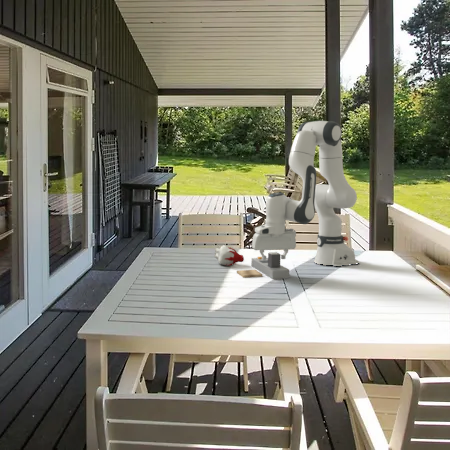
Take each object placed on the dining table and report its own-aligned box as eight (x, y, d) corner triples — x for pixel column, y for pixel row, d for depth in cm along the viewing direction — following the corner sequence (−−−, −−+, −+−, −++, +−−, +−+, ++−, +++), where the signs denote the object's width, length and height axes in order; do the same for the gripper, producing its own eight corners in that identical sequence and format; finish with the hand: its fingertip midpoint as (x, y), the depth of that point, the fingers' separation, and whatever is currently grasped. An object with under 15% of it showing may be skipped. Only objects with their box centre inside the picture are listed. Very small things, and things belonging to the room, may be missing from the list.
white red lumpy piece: (213, 260, 269) (243, 265, 268) (210, 265, 258) (241, 270, 257) (216, 243, 268) (246, 247, 267) (213, 247, 257) (244, 252, 256)
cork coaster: (255, 271, 250) (255, 269, 250) (262, 276, 242) (262, 274, 241) (236, 272, 247) (236, 270, 247) (243, 277, 239) (243, 275, 239)
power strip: (262, 262, 270) (262, 253, 269) (289, 278, 240) (289, 268, 239) (247, 263, 267) (247, 254, 266) (272, 279, 237) (272, 269, 236)
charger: (276, 267, 248) (276, 251, 247) (280, 269, 244) (280, 253, 243) (267, 268, 247) (268, 252, 246) (271, 270, 243) (271, 254, 242)
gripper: (293, 227, 249) (291, 257, 251) (251, 228, 242) (250, 258, 244) (299, 229, 243) (297, 259, 245) (256, 230, 236) (255, 261, 238)
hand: (273, 259), depth 244 cm, fingers open, 8 cm apart
